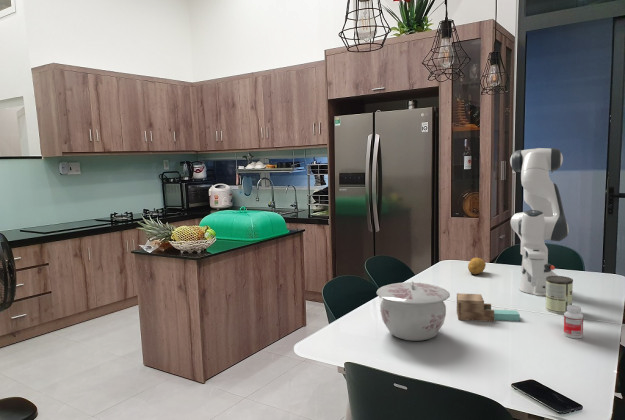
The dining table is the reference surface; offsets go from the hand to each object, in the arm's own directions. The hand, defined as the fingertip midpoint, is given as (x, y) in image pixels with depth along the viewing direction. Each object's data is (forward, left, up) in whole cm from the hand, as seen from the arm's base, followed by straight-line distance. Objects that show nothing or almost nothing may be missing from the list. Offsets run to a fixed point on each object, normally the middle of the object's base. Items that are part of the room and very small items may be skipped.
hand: (531, 283), depth 185 cm
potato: (+13, -76, -15) cm, 79 cm away
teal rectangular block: (+11, 0, -15) cm, 19 cm away
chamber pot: (+47, +24, -15) cm, 55 cm away
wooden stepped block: (+22, 0, -15) cm, 27 cm away
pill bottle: (-11, +16, -15) cm, 25 cm away
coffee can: (-14, -14, -15) cm, 25 cm away
